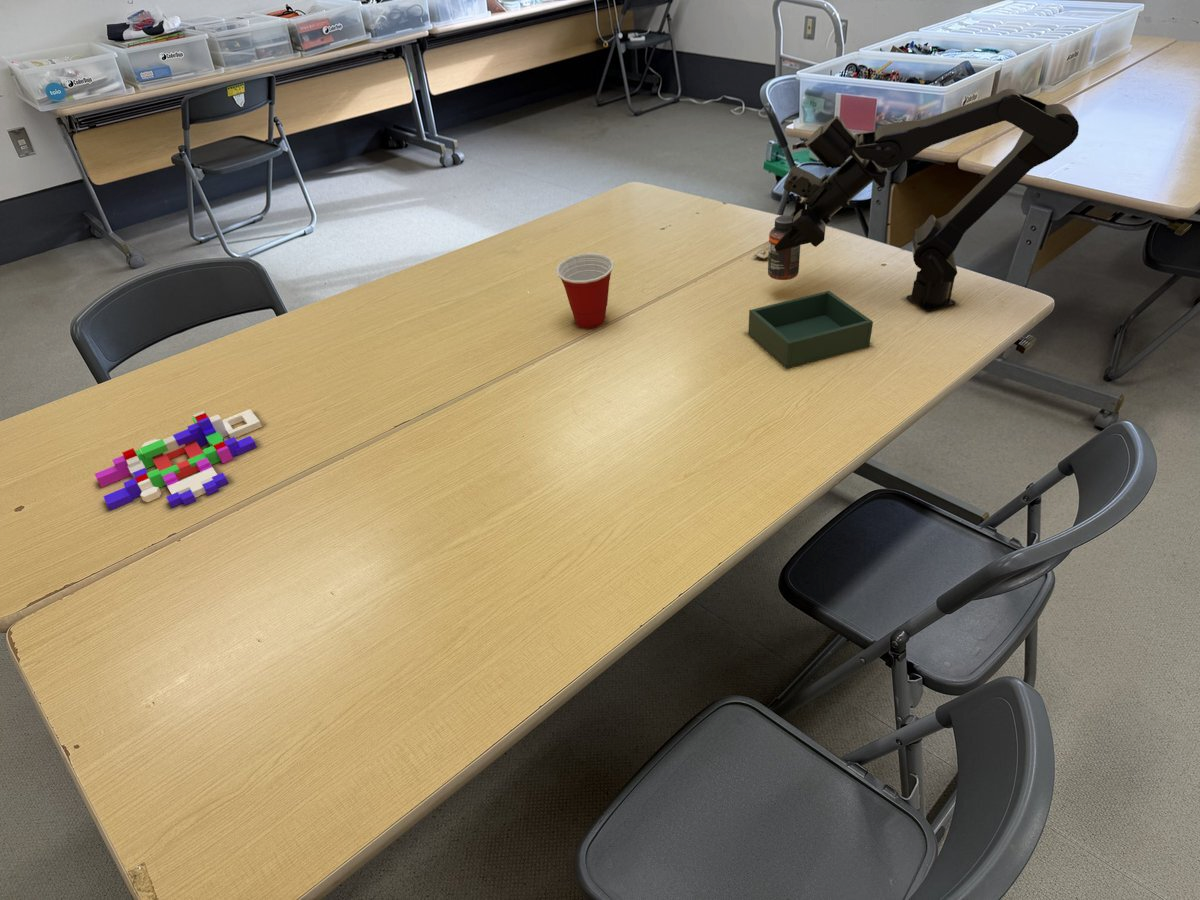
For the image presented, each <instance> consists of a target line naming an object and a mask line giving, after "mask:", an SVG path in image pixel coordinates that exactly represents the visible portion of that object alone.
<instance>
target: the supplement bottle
mask: <svg viewBox="0 0 1200 900" xmlns="http://www.w3.org/2000/svg"><path fill="white" fill-rule="evenodd" d="M790 215H791V214H790ZM790 215H789V214H784V215H778V216H777V217H775V218H774V224H773V225H774V226H773V228H772V229H770V231H769V233H768V234H769V235H768V243H769V254H768V257H767V275H768V276H769V277H770V278H771V279H773V280H777V281H789V280H792V279H795V278H796V277H797V276H798V275H799V273H800V272H799V270H800V258H801V257H800V256H801V245H799V246H795V247H791V248H788V249H784V250H781V251H777V250H776V249H775V248H774V247H775V245H776V244H777V243H778V241H779V240H780V239H781V238H782V237H783V236H784V234H785V233H786V232H787V231H788V230H789V228H790V227H791V225H792V216H790Z"/></svg>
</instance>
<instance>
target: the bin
mask: <svg viewBox="0 0 1200 900" xmlns="http://www.w3.org/2000/svg"><path fill="white" fill-rule="evenodd" d="M873 325H874V320H872V319H870V318H869V317H867V315H865V314H863V313H862V312H860V311H859V310H857V308H855V307H854V306H852V305H850V304H849V303H848V302H846V301H845V300H843V299H842V298H840V297H839V296H838V295H836V294H835V293H833V292H832V291H830V290H826V291H822V292H817V293H814V294H810V295H805V296H801V297H797V298H793V299H789V300H786V301H785V300H784V301H781V302H780V301H779V302H776V303H773V304H769V305H765V306H761V307H760V306H759V307H756V308H752V309H749V310H748V329H747V330H748V332H747V335H748V336H749V337H750V338H752V340H754V341H755V343H757V344H758V345H759V346H760V347H761V348H763V349H764V350H765V351H766V352H767V353H768V354H769V355H770V356H772V357H773V358H774V360H776V361H777V362H778V363H779V364H780V365H781V366H783V367H784V368H785V369H790V368H791V369H792V368H794V367H798V366H802V365H806V364H811V363H814V362H818V361H821V360H825V359H829V358H832V357H836V356H840V355H844V354H847V353H851V352H856V351H859V350H862V349H865V348H870V346H871V345H870V344H871V339H872V333H873V332H872V331H873Z"/></svg>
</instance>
